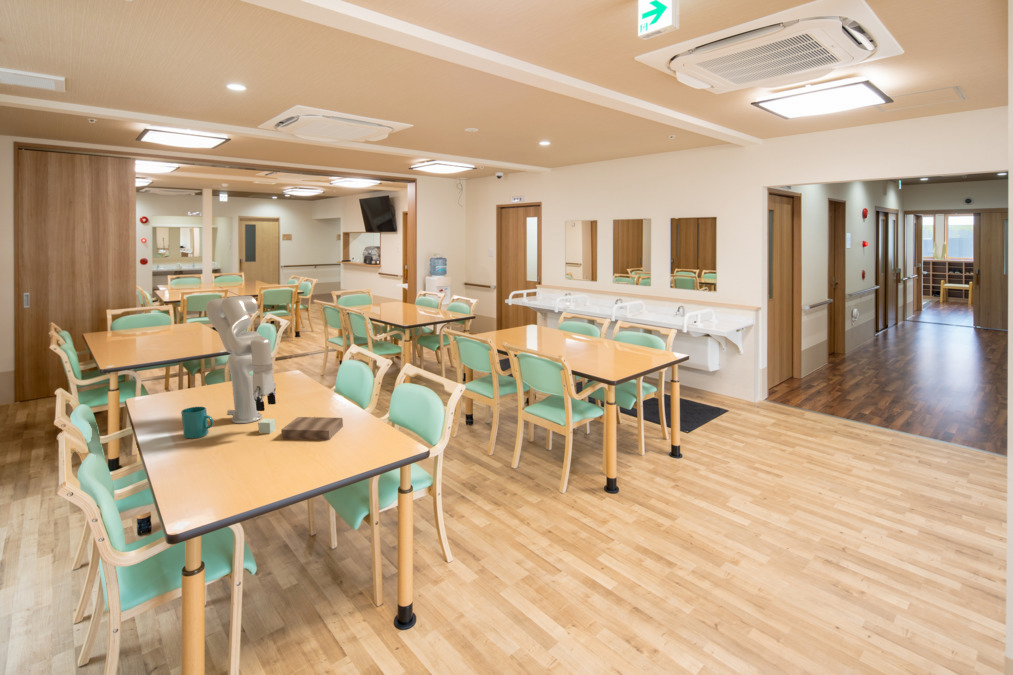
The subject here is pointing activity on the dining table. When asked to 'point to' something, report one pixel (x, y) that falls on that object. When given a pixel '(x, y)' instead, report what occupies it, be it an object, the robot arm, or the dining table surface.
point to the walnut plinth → (312, 428)
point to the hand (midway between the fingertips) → (266, 407)
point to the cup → (195, 422)
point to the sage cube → (267, 426)
